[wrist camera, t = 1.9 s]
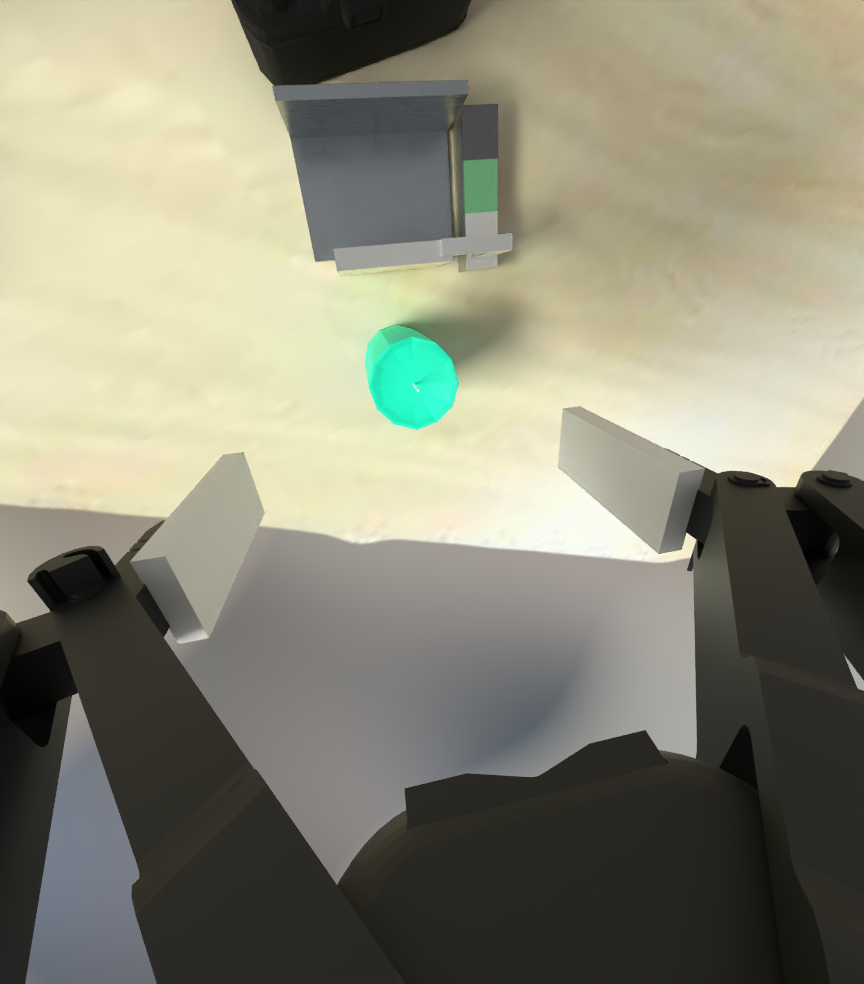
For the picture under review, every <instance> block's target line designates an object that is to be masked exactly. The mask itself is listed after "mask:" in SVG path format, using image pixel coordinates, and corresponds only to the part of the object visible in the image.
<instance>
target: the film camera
mask: <svg viewBox="0 0 864 984" xmlns="http://www.w3.org/2000/svg"><path fill="white" fill-rule="evenodd" d="M231 1H232V4H233V6H234V8H235V11H236V13H237V15H238V18H239V20H240V23H241V26H242V28H243V30H244V33H245V35H246V38H247V39H248V42H249V44H250V47H251V50H252V52H253V54H254V57H255V59H256V61H257V63H258V66H259V68H260V71H261V72H262V73H263V74H264V75H265V76H266V77H267V78H268V79H269V80H270V82H271V83H272V84H273V85H274V86H281V85H312V84H314V83H318V82H321V81H324V80H327V79H330V78H333V77H335V76H338V75H342V74H344V73H347V72H349V71H352V70H355V69H357V68H360V67H363V66H367V65H370V64H373V63H376V62H378V61H380V60H383V59H386V58H389V57H392V56H394V55H397V54H400V53H402V52H405V51H407V50H410V49H414V48H416V47H418V46H421V45H423V44H426V43H428V42H431V41H433V40H435V39H437V38H439V37H442V36H444V35H446V34H448V33H450V32H452V31H453V30H456V29H457V28H458V27H459V26H460V25H461V24H462V23H463V21H464V19H465V17H466V13H467V9H468V7H469V4H470V2H471V0H231Z"/></svg>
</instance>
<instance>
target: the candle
mask: <svg viewBox="0 0 864 984" xmlns="http://www.w3.org/2000/svg"><path fill="white" fill-rule="evenodd" d="M365 365H366V371H367V377H368V384H369V389H370V391H371V394H372V397H373V399H374V402H375V405H376V407H377V410H378V411H380V412H381V413H382V414H383V415H384V416H385V417H387V418H388V419H389V420H390V421H391V422H392V423H393V424H395V425H399V426H403V427H407V428H412V429H416V430H417V429H420V428H423V427H425V426H428V425H430V424H433V423H436V422H438V421H439V420H440V419H441V417H442V416H443V415H444V414H445V413H446V412H447V411H448V410H449V409H450V408H451V407H452V406H453V403H454V399H455V395H456V391H457V387H458V379H457V376H456V372H455V369H454V365H453V362H452V359H451V358H450V357H449V356H448V355H447V353H446V352H445V351H444V350H443V349H442V348H441V347H440V346H439V345H438V344H437V343H436V342H434V341H433V340H431V339H429V338H428V337H426V336H424V335H423V334H421V333H419V332H418V331H416V330H414V329H411V328H407V327H403V326H399V325H394V326H391V327H388V328H385V329H382V330H379V332H378V333H377V334H376V335H375V336H374V338H373V339H372V340H371V341H370V343H369V344H368V347H367V354H366V360H365Z"/></svg>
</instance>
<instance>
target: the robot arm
mask: <svg viewBox="0 0 864 984" xmlns="http://www.w3.org/2000/svg"><path fill="white" fill-rule="evenodd" d="M558 468H559V469H560V470H562V471H563V472H564V473H565V474H566V475H567V476H569V477H570V478H571V479H572V480H573V481H574V482H576V483H577V484H578V485H579V486H580V487H581V488H582V489H584V490H585V491H586V492H587V493H588V494H589V495H591V496H592V497H593V498H594V499H595V500H596V501H598V502H599V503H600V504H601V505H602V506H603V507H605V508H606V509H607V510H608V511H609V512H610V513H612V514H613V515H614V516H615V517H616V518H617V519H619V520H620V521H621V522H622V523H623V524H624V525H626V526H627V527H628V528H629V529H630V530H631V531H633V532H634V533H635V534H636V535H637V536H638V537H640V538H641V539H642V540H643V541H644V542H645V543H647V544H648V545H649V546H650V547H651V548H652V549H654V550H655V551H656V552H657V553H658V554H661V553H666V552H672V551H677V550H681V549H682V546H683V543H684V539H685V536H686V532H687V533H688V534H690V535H691V536H692V537H694V538H695V539H697V540H696V543H695V546H694V549H693V553H692V556H691V559H690V563H689V566H688V569H687V570H688V571H692V569H694V618H695V668H696V715H697V755H696V759H695V758H692V757H689V756H685V755H682V754H677V753H671V752H667V751H661V750H658V749H657V747H656V746H655V744H654V743H653V741H652V740H651V738H650V737H649V735H648V734H647V732H646V731H645V730H644V731H640V732H636V733H632V734H628V735H623V736H620V737H615V738H611V739H607V740H603V741H599V742H595V743H590V744H588V745H587V746H585V747H584V748H582V749H581V750H579V751H577V752H576V753H575V754H573V755H571V756H570V757H568V758H567V759H565V760H563V761H562V762H560V763H559V764H557V765H556V766H554V767H553V768H551V769H549V770H548V771H546V772H545V773H543V774H541V775H540V776H537V777H516V776H499V775H483V774H463V775H459V776H455V777H451V778H447V779H442V780H438V781H434V782H430V783H426V784H421V785H418V786H414V787H409V788H405V797H406V798H405V799H406V810H405V811H404V812H402V813H400V814H399V815H397V816H396V817H394V818H393V819H391V820H390V821H389V822H388V823H387V824H385V825H384V826H383V827H382V828H380V829H379V830H378V831H377V832H376V833H375V834H374V835H373V836H372V838H371V839H369V840H368V842H367V843H366V844H365V845H364V846H363V847H362V849H361V850H360V851H359V853H358V854H357V855H356V856H355V858H354V859H353V860H352V862H351V863H350V865H349V867H348V868H347V870H346V871H345V873H344V875H343V876H342V878H341V879H340V881H339V883H338V885H337V884H336V883H335V882H334V880H333V879H332V877H331V876H330V874H329V873H328V872H327V870H326V869H325V867H324V866H323V864H322V863H321V861H320V860H319V859H318V857H317V856H316V854H315V853H314V851H313V850H312V849H311V847H310V846H309V844H308V843H307V841H306V840H305V839H304V837H303V836H302V834H301V833H300V832H299V830H298V828H297V827H296V825H295V824H294V823H293V821H292V820H291V818H290V817H289V816H288V814H287V812H286V811H285V810H284V809H283V807H282V805H281V804H280V802H279V801H278V800H277V798H276V797H275V795H274V794H273V792H272V791H271V790H270V788H269V787H268V785H267V784H266V782H265V781H264V780H263V778H262V777H261V775H260V774H259V773H258V771H257V770H256V769H254V768H253V767H252V765H251V764H250V762H249V761H248V760H247V758H246V757H245V755H244V754H243V752H242V751H241V750H240V748H239V747H238V745H237V744H236V742H235V741H234V739H233V738H232V736H231V735H230V733H229V732H228V731H227V729H226V728H225V726H224V725H223V723H222V722H221V720H220V719H219V717H218V716H217V715H216V713H215V712H214V710H213V709H212V707H211V706H210V704H209V703H208V702H207V700H206V699H205V697H204V696H203V694H202V693H201V691H200V690H199V688H198V687H197V686H196V684H195V683H194V681H193V680H192V678H191V677H190V676H189V674H188V672H187V671H186V670H185V668H184V667H183V665H182V664H181V663H180V661H179V660H178V658H177V657H176V655H175V654H174V652H173V651H172V649H171V648H170V646H169V645H168V643H167V642H166V641H165V639H164V636H165V634H166V633H167V631H168V629H169V628H170V630H171V632H172V633H173V635H174V637H175V639H176V640H177V642H178V643H185V642H191V641H195V640H201V639H206V638H209V637H210V634H211V632H212V629H213V628H214V625H215V623H216V621H217V619H218V616H219V614H220V612H221V609H222V607H223V605H224V603H225V601H226V598H227V596H228V594H229V592H230V589H231V587H232V585H233V583H234V580H235V578H236V576H237V574H238V571H239V569H240V567H241V565H242V562H243V560H244V558H245V556H246V554H247V551H248V549H249V547H250V545H251V542H252V540H253V538H254V536H255V533H256V531H257V529H258V527H259V524H260V522H261V520H262V518H263V515H264V513H265V512H264V509H263V506H262V503H261V501H260V498H259V495H258V492H257V489H256V486H255V483H254V481H253V478H252V475H251V472H250V469H249V466H248V463H247V461H246V458H245V455H244V452H241V453H234V454H227V455H223V456H222V457H221V458H220V459H219V460H218V461H217V462H216V464H215V465H214V466H213V467H212V468H211V469H210V470H209V472H208V473H207V474H206V475H205V476H204V477H203V478H202V480H201V481H200V482H199V483H198V484H197V485H196V486H195V488H194V489H193V490H192V491H191V492H190V493H189V494H188V496H187V497H186V498H185V499H184V500H183V501H182V502H181V504H180V505H179V506H178V507H177V508H176V509H175V511H174V512H173V513H172V514H171V515H170V516H169V517H168V519H167V520H164V521H161V522H160V523H158V524H156V525H155V526H153V527H152V528H150V529H149V530H148V531H146V532H145V533H144V535H143V536H142V537H141V538H140V539H139V540H138V541H137V542H138V543H135V544H134V545H133V547H132V548H131V549H130V552H127V553H126V554H125V555H124V556H123V557H122V559H121V560H120V561H119V562H118V563H117V564H116V565H115V566H114V564H113V562H112V561H111V559H110V558H109V556H108V554H107V553H106V551H105V550H104V549H103V548H101V547H99V546H89V547H83V548H78V549H75V550H72V551H69V552H66V553H63V554H61V555H59V556H57V557H54V558H52V559H50V560H48V561H46V562H45V563H43V564H42V565H40V566H39V567H37V568H36V569H35V570H34V571H33V572H32V573H31V574H30V575H29V577H28V580H27V581H28V583H29V584H30V585H31V586H32V588H33V589H34V590H35V592H36V593H37V594H38V595H39V597H40V598H41V599H42V600H43V602H44V603H45V604H46V606H47V607H48V608H49V609H50V612H49V613H46V614H43V615H40V616H38V617H34V618H31V619H28V620H25V621H22V622H19V623H15V622H14V621H13V620H12V619H11V617H9V615H8V614H7V613H6V612H4V611H1V610H0V984H25V981H26V975H27V968H28V962H29V956H30V950H31V944H32V938H33V932H34V926H35V925H34V924H35V919H36V913H37V907H38V901H39V895H40V888H41V883H42V876H43V870H44V864H45V858H46V852H47V845H48V840H49V833H50V827H51V821H52V815H53V809H54V802H55V797H56V790H57V784H58V778H59V772H60V766H61V760H62V753H63V748H64V741H65V735H66V729H67V723H68V716H69V711H70V705H71V698H72V695H74V694H77V693H79V696H80V699H81V702H82V705H83V708H84V711H85V714H86V717H87V719H88V722H89V725H90V728H91V731H92V734H93V737H94V740H95V743H96V746H97V749H98V751H99V755H100V757H101V760H102V763H103V766H104V769H105V772H106V775H107V778H108V780H109V784H110V786H111V789H112V792H113V795H114V798H115V801H116V804H117V807H118V810H119V813H120V816H121V819H122V821H123V824H124V827H125V830H126V833H127V836H128V839H129V842H130V845H131V848H132V851H133V853H134V856H135V859H136V862H137V865H138V869H139V873H140V874H139V879H138V880H137V881H136V882H135V883H134V884H133V885H132V901H133V905H134V910H135V914H136V918H137V921H138V924H139V927H140V930H141V934H142V937H143V940H144V944H145V946H146V950H147V953H148V956H149V960H150V963H151V966H152V969H153V972H154V976H155V979H156V982H157V984H864V691H862V690H859V689H858V688H857V686H856V684H855V681H854V679H853V676H852V674H851V672H850V669H849V667H848V664H847V662H846V659H845V656H846V657H847V659H848V660H849V661H850V663H851V664H852V665H853V667H854V668H855V669H856V671H857V672H858V673H859V674H860V676H861V677H862V679H863V680H864V481H862V480H860V479H858V478H855V477H852V476H849V475H848V474H846V473H842V472H837V471H831V470H829V471H807V472H804V473H803V474H802V475H801V477H800V479H799V481H798V484H797V486H796V487H776V485H775V484H774V483H773V482H772V481H771V480H769V479H768V478H765V477H763V476H760V475H756V474H753V473H749V472H742V471H726V472H721V473H719V474H717V473H715V472H713V471H711V470H709V469H707V468H705V467H703V466H701V465H699V464H697V463H695V462H693V461H690V460H689V459H687V458H685V457H683V456H680V455H679V454H677V453H675V452H673V451H671V450H669V449H665V448H663V447H661V446H659V445H657V444H655V443H653V442H651V441H649V440H647V439H645V438H643V437H641V436H638V435H636V434H634V433H632V432H630V431H628V430H626V429H624V428H622V427H620V426H618V425H616V424H614V423H612V422H610V421H608V420H606V419H604V418H602V417H600V416H598V415H596V414H594V413H592V412H590V411H588V410H586V409H584V408H582V407H580V406H579V407H572V408H564V409H563V413H562V425H561V437H560V448H559V460H558ZM837 549H838V550H837ZM836 551H837V552H836ZM843 653H844V654H843ZM844 655H845V656H844Z"/></svg>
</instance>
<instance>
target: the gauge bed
mask: <svg viewBox="0 0 864 984" xmlns="http://www.w3.org/2000/svg"><path fill="white" fill-rule="evenodd" d="M273 91H274V96H275V101H276V103H277V106H278V108H279V111H280V113H281V116H282V118H283V121H284V123H285V126H286V128H287V131H288V133H289V136H290V138H291V143H292V148H293V153H294V158H295V163H296V168H297V173H298V178H299V183H300V188H301V192H302V197H303V202H304V207H305V212H306V217H307V222H308V227H309V232H310V237H311V242H312V247H313V252H314V257H315V262H320V261H332V260H335V256H334V250H333V249H337V248H349V247H361V246H373V245H385V244H397V243H409V242H421V241H433V240H441V239H446V238H452V221H451V201H450V180H449V160H448V140H447V130H448V129H449V127H450V125H451V124H453V147H454V170H455V193H456V216H457V238H458V237H470V236H482V235H494V234H498V104H486V105H463V103H464V101H465V99H466V98H467V96H468V80H450V81H416V82H382V83H349V84H315V85H281V86H273ZM458 262H459V272H465V271H475V270H486V269H492V268H498V254H497V255H493V256H484V257H474V254H466V255H458Z"/></svg>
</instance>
